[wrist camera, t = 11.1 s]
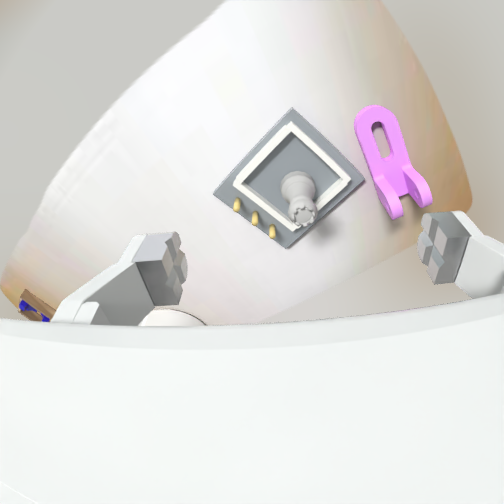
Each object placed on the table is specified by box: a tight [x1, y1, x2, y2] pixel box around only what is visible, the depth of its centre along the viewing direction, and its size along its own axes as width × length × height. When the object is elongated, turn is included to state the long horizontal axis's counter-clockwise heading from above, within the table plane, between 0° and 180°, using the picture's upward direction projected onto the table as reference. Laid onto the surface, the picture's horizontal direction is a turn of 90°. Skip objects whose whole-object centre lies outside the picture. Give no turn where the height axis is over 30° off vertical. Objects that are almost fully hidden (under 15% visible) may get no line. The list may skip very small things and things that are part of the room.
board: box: [213, 108, 365, 249], centre depth 38 cm, size 15×13×4 cm
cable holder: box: [19, 300, 51, 322], centre depth 57 cm, size 8×4×4 cm, turn 50°
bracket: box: [354, 105, 432, 220], centre depth 33 cm, size 13×6×7 cm, turn 28°
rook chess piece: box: [280, 171, 318, 228], centre depth 36 cm, size 4×4×8 cm
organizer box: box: [18, 289, 56, 322], centre depth 58 cm, size 7×11×2 cm, turn 50°
